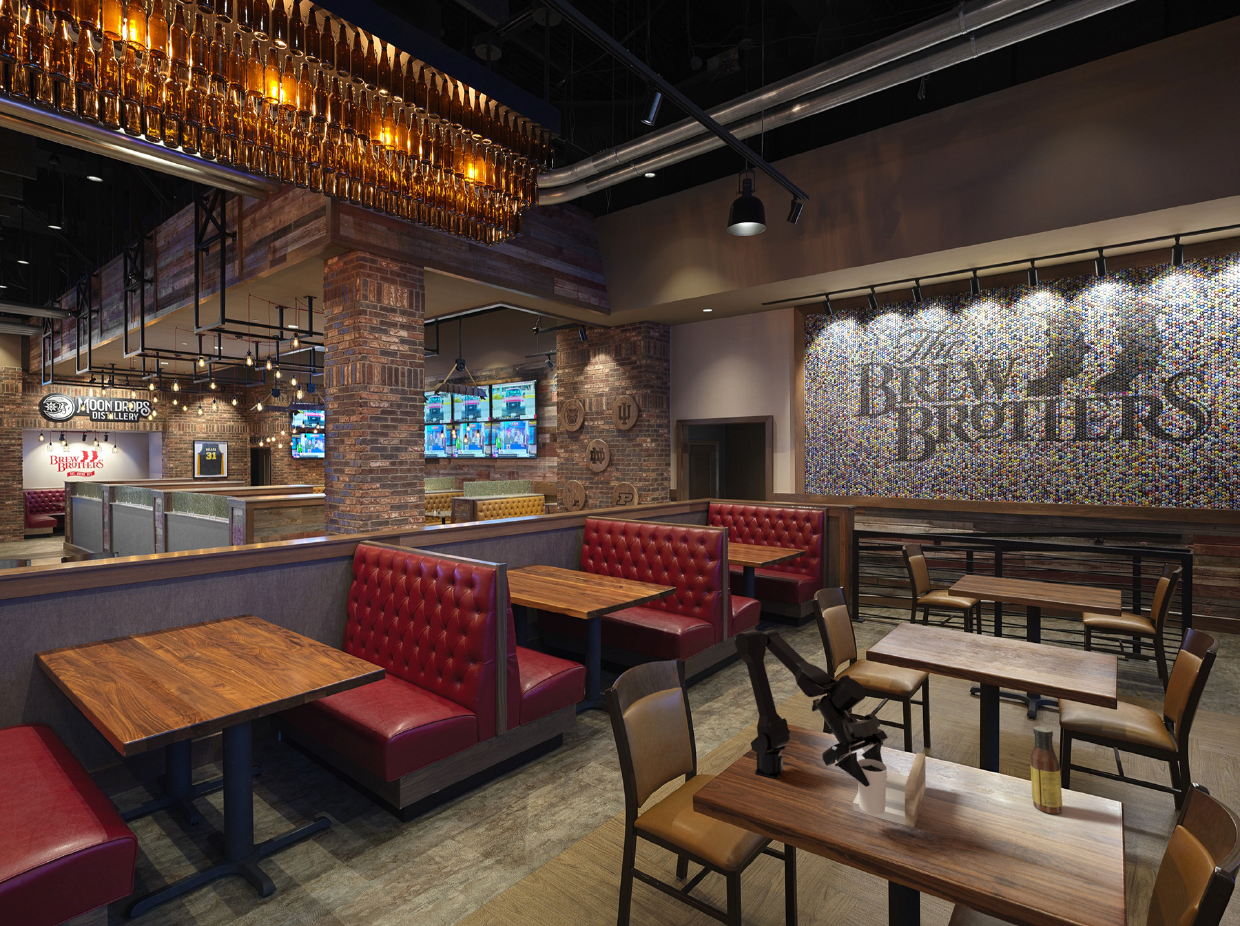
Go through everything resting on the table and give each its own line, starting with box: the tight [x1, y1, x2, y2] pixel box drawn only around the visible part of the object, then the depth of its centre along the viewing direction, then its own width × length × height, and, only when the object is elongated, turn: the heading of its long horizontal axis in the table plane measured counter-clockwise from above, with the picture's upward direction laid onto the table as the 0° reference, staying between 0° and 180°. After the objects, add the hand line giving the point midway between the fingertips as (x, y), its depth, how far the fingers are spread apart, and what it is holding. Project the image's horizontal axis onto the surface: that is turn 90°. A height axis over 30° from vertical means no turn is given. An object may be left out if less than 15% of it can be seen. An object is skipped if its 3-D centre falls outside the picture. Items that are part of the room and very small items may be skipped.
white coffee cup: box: [857, 758, 888, 814], centre depth 148 cm, size 7×7×10 cm
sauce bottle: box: [1029, 725, 1063, 815], centre depth 157 cm, size 7×6×20 cm
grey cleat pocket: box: [852, 770, 909, 826], centre depth 162 cm, size 12×22×4 cm, turn 147°
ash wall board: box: [904, 752, 927, 828], centre depth 158 cm, size 2×22×9 cm, turn 147°
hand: (876, 782), depth 147 cm, fingers closed on white coffee cup, 6 cm apart
